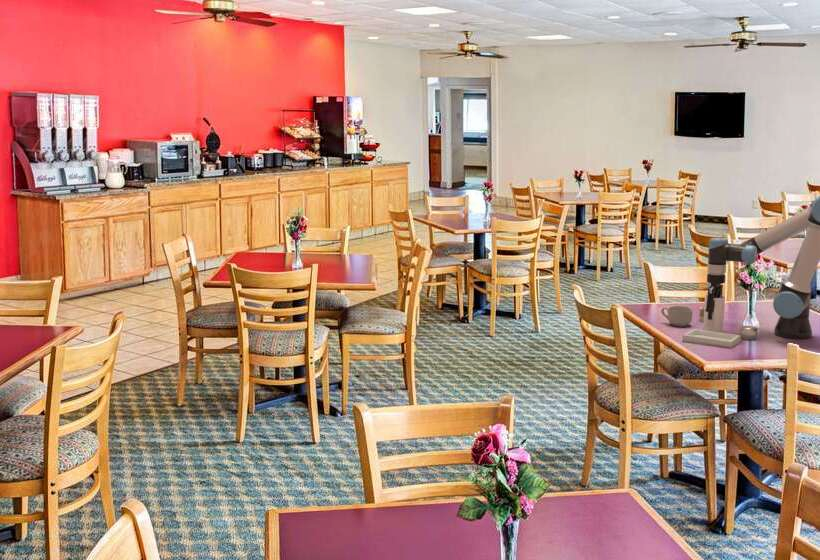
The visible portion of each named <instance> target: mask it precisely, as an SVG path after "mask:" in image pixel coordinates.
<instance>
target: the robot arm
mask: <svg viewBox="0 0 820 560" xmlns="http://www.w3.org/2000/svg"><path fill="white" fill-rule="evenodd" d="M806 230H807V231H806ZM805 231H806V233H805V236H804V238H803V241H802V244H801V245H800V248H799V250H798V253H797V255H796V258H795V261H794V263H793V265H792V268H791V270H790V273H789V275H788V278H787V279H786V280H785V279H784V280H783V281H782V283H781V285H780V287H779V290H778V293H777V294H776V295H775V296H774V299H773V302H772V307H773V310H774V312H775V313H776V314H777V316H779V317H778V320H777V321H776V325H775V326H774V332H773V333H774V335H776V336H778V337H782V338H786V339H798V340H800V339H802V340H803V339H804V340H805V339H811V338H812V335H813V330H812V325H811V323H810V309H811V295H812V286H811V281H812V279H813V277H814V275H815V272H816V271H817V268H818V265H819V262H820V195H818V196H817V197H816V198H815V199H814V200H813V202H812V203H810V204H809V205H808V207H807V208H805V209H804V210H801V211H799V213H796V214H794V215H793V216H791V217H789V218H787V219H785V220H783V221H781V222H779V223H778V224H776V225H774V226H772V227H770V228H768V229H766V230H764V231H763V232H761V233H758V234H757V235H755V236H753V237H751V238H749V239H748V240H745V241H743V242H741V243H740V244H739V243H737V244H736V243H729V240H728V239H727V238H725V237H712V238H710V240H709V245H708V256H707V257H708V260H707V265H706V268H707V274H706V275H707V276H706V282H707V283H709V284H710V287H709V288H708V289H707V295H708V297H707V305H706V310H705V311H706V312H707V327H713V325H714V305H715V300H714V298H720V295H722V296H723V288H724V285H723V284H725V282H726V273H727V262H735V263H744V264H754V263H755V262H756V260H757V257H758V255H761V253H763V252H765V251H767V250H769V249H771V248H773V247H776V246H777V245H779V244H781V243H783V242H785V241H786V240H789V239H790V238H793V237H794V236H797V235H798V234H801V233H802V232H805Z"/></svg>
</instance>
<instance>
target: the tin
mask: <svg viewBox="0 0 820 560" xmlns="http://www.w3.org/2000/svg"><path fill="white" fill-rule="evenodd" d="M758 330H759V328H758V327H757V326H754V325H740V327H739V335H741V340H742V339H743V341H748V340H754V341H757V340H758Z"/></svg>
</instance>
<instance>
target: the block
mask: <svg viewBox="0 0 820 560" xmlns="http://www.w3.org/2000/svg"><path fill="white" fill-rule="evenodd" d="M699 321H701V323H703V321H704V306H700V307H699V315H698V322H699Z"/></svg>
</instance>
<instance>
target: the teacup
mask: <svg viewBox="0 0 820 560" xmlns="http://www.w3.org/2000/svg"><path fill="white" fill-rule="evenodd" d="M664 310H666V311H667V313H665V312H664ZM693 310H694V309H693V308H692V307H690V306H684V305H671V306H663V307H662V308H661V312H660V313H661V314H662V316H664V317H665V319H667V321H668V322H669V324H671V325H672V326H674V327H678V326H679V327H680V328H682V327H683V326H684V327H686V326H688V325H690V324H691V322H692V320H693Z"/></svg>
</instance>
